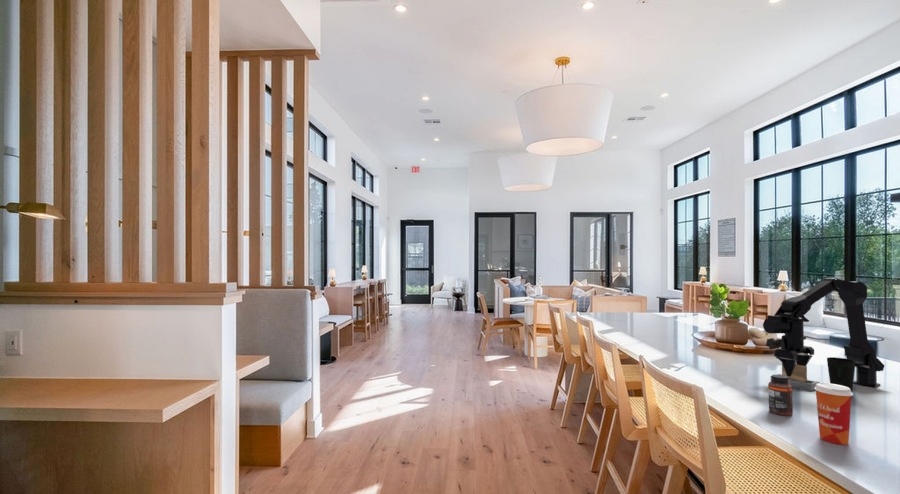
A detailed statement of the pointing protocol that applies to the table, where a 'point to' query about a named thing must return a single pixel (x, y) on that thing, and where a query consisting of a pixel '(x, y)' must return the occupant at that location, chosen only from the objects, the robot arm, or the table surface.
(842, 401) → the paper cup
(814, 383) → the track
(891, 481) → the table surface
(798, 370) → the oak panel
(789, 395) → the supplement bottle
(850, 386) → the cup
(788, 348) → the robot arm
